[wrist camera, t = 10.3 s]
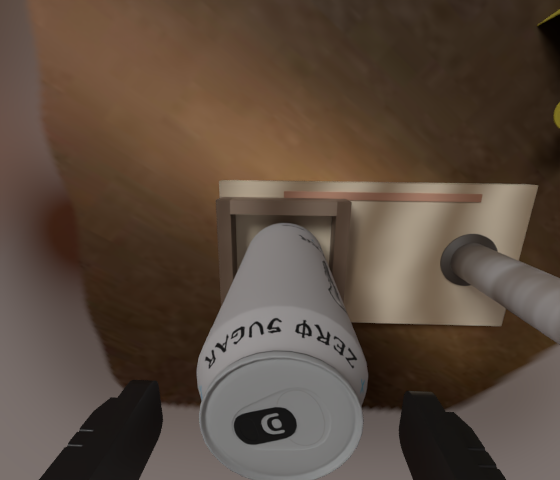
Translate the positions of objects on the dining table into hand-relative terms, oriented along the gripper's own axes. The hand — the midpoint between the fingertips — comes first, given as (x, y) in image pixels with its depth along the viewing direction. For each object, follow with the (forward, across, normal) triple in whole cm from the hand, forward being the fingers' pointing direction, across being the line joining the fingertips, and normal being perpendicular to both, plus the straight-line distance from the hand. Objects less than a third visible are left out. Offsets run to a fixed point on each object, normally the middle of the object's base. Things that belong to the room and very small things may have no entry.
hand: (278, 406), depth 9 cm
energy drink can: (+14, 0, 0) cm, 14 cm away
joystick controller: (+16, -7, 0) cm, 17 cm away
